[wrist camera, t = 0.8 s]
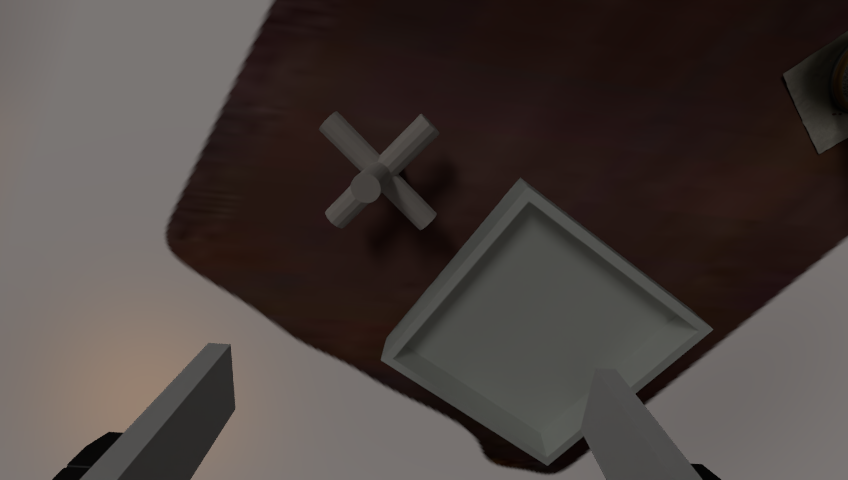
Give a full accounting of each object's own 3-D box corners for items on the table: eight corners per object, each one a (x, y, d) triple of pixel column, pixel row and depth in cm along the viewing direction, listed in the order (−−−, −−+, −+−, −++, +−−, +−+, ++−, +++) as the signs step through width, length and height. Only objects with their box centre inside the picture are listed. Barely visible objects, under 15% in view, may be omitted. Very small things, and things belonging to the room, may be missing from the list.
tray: (520, 177, 32) (527, 186, 29) (689, 307, 36) (713, 329, 32) (386, 337, 39) (380, 360, 35) (539, 436, 42) (547, 465, 39)
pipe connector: (474, 164, 32) (484, 192, 23) (391, 240, 35) (369, 293, 26) (388, 70, 30) (360, 58, 21) (307, 159, 33) (251, 184, 24)
